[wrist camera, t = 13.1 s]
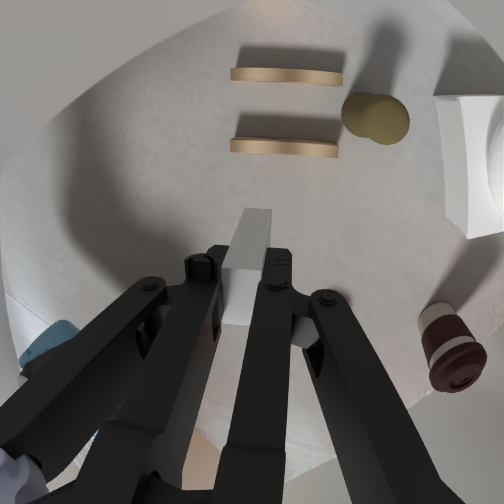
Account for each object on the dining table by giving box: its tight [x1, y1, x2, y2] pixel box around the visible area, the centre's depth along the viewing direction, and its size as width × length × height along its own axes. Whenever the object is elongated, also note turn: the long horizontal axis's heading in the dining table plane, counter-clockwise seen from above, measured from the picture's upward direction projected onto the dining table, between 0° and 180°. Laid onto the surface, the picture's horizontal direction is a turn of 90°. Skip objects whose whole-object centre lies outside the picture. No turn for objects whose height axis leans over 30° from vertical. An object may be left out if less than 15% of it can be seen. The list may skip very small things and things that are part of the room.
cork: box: [341, 92, 410, 145], centre depth 30 cm, size 6×6×11 cm
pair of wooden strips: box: [230, 68, 343, 158], centre depth 35 cm, size 13×10×3 cm
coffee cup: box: [418, 302, 487, 393], centre depth 42 cm, size 10×10×15 cm
